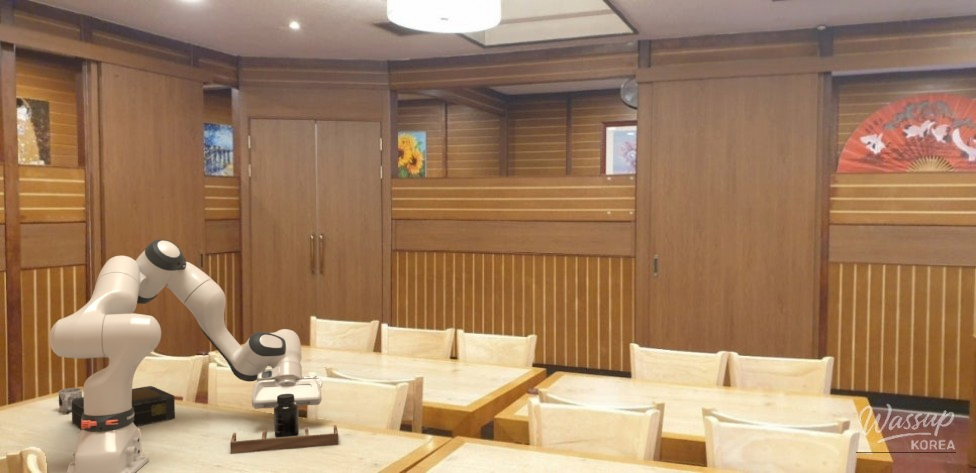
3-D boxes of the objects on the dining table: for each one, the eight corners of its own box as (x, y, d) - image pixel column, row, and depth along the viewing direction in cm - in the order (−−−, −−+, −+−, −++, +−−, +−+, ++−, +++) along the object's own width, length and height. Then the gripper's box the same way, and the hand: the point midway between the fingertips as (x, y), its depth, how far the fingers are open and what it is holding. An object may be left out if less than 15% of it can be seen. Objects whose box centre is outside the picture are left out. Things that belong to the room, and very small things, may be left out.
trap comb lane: (338, 444, 206) (338, 434, 206) (230, 453, 199) (230, 442, 199) (334, 425, 224) (334, 416, 224) (235, 433, 217) (235, 423, 216)
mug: (62, 408, 245) (61, 388, 245) (84, 406, 247) (83, 387, 247) (54, 416, 235) (53, 395, 235) (77, 414, 237) (76, 394, 237)
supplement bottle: (287, 431, 218) (286, 391, 218) (303, 435, 215) (303, 394, 214) (269, 437, 213) (268, 396, 212) (286, 441, 209) (285, 399, 208)
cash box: (152, 407, 247) (151, 384, 247) (177, 419, 233) (176, 395, 232) (69, 422, 229) (69, 398, 229) (91, 436, 215) (90, 410, 215)
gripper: (321, 381, 231) (323, 421, 222) (253, 385, 225) (251, 426, 216) (322, 370, 226) (323, 410, 217) (252, 374, 221) (250, 415, 212)
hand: (287, 418), depth 217 cm, fingers closed
